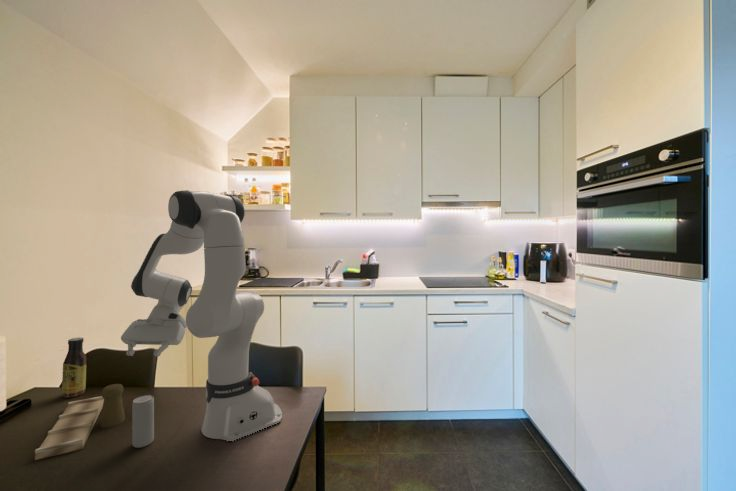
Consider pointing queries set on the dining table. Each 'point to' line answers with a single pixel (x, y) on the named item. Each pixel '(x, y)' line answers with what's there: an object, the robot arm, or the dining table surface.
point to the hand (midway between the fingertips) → (142, 355)
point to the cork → (112, 406)
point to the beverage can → (142, 421)
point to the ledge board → (71, 428)
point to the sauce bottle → (74, 369)
